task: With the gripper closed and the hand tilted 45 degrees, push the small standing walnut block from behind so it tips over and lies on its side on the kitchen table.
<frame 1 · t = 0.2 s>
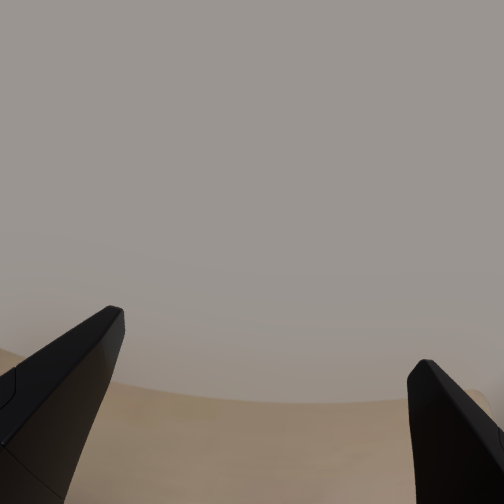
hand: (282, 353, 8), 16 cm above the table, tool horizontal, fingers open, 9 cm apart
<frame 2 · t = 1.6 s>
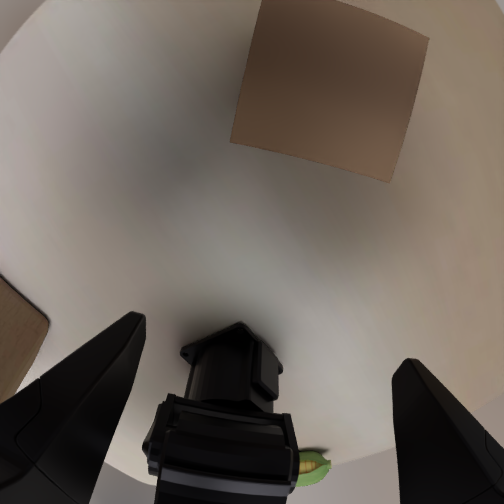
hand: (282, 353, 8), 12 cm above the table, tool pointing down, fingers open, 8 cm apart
edible corn: (257, 457, 37), on the table
walnut block: (301, 85, 15), on the table
wooden block: (10, 312, 26), on the table
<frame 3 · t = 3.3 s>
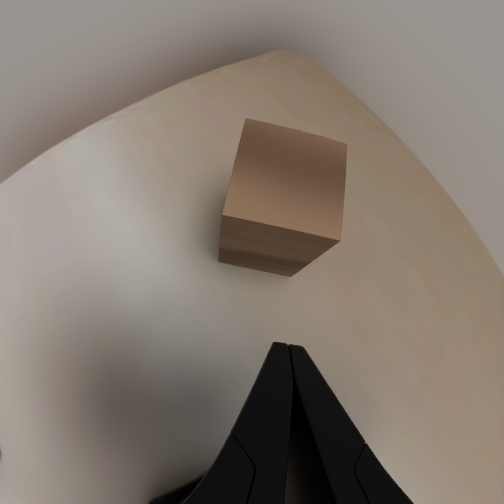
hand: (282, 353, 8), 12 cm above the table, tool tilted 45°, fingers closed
walnut block: (261, 234, 22), on the table
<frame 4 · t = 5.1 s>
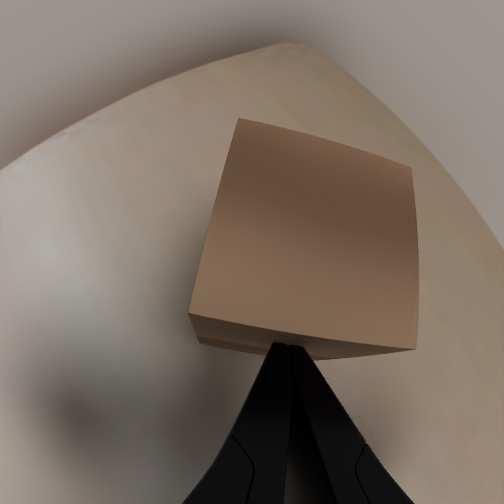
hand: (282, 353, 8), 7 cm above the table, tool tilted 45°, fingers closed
walnut block: (261, 302, 15), on the table, tilted 5°
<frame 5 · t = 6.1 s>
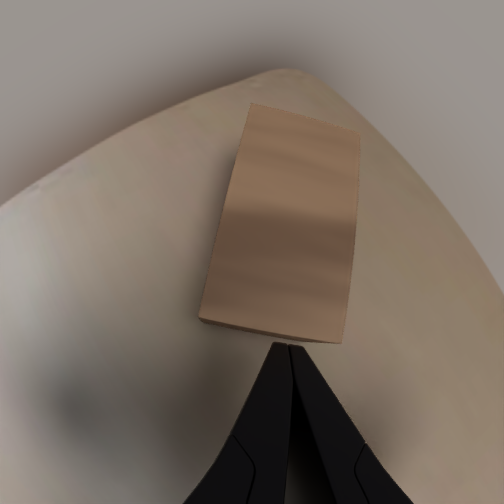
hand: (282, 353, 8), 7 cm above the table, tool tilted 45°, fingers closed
walnut block: (261, 332, 13), point 2 cm above the table, tilted 90°
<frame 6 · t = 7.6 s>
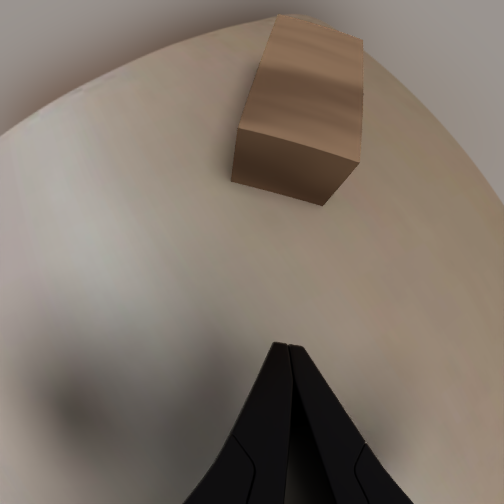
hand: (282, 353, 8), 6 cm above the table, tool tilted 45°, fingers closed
walnut block: (287, 172, 14), point 2 cm above the table, tilted 90°
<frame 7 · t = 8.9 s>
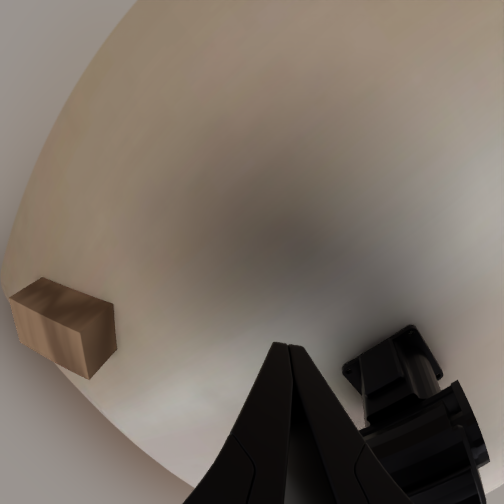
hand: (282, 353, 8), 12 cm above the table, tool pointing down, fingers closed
walnut block: (100, 341, 23), point 2 cm above the table, tilted 90°
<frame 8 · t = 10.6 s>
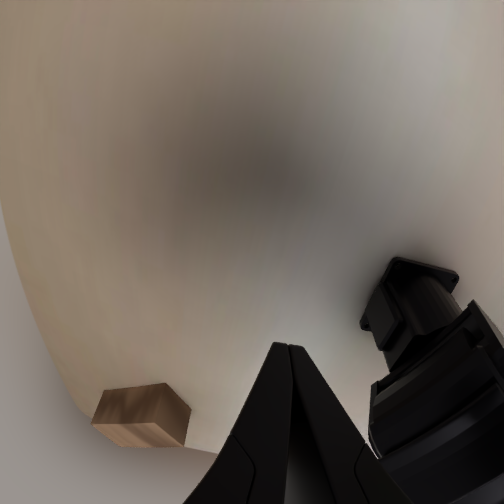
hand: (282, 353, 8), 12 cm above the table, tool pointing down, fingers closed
walnut block: (174, 414, 27), point 2 cm above the table, tilted 90°
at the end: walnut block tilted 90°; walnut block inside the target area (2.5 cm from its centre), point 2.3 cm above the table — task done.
